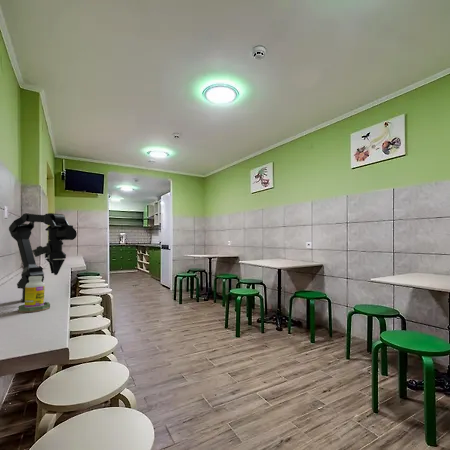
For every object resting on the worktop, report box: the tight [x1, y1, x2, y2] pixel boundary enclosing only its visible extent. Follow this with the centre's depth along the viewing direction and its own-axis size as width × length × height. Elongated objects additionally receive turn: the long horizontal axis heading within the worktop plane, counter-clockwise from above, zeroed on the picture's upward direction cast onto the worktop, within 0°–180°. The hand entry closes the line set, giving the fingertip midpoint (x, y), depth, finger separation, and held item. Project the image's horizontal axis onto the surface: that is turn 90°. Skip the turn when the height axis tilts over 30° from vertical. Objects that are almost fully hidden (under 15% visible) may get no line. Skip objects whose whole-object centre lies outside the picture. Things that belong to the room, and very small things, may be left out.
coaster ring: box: [17, 301, 51, 314], centre depth 112 cm, size 11×11×2 cm
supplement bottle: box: [23, 276, 46, 308], centre depth 113 cm, size 7×7×13 cm
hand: (54, 274), depth 126 cm, fingers open, 9 cm apart
